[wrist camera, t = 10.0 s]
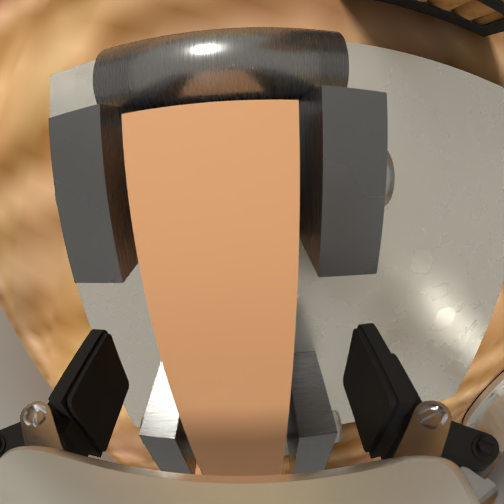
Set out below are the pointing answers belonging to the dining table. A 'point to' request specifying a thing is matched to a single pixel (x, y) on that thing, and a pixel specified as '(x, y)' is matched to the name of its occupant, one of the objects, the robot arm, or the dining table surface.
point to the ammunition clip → (462, 13)
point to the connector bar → (221, 268)
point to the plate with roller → (303, 210)
